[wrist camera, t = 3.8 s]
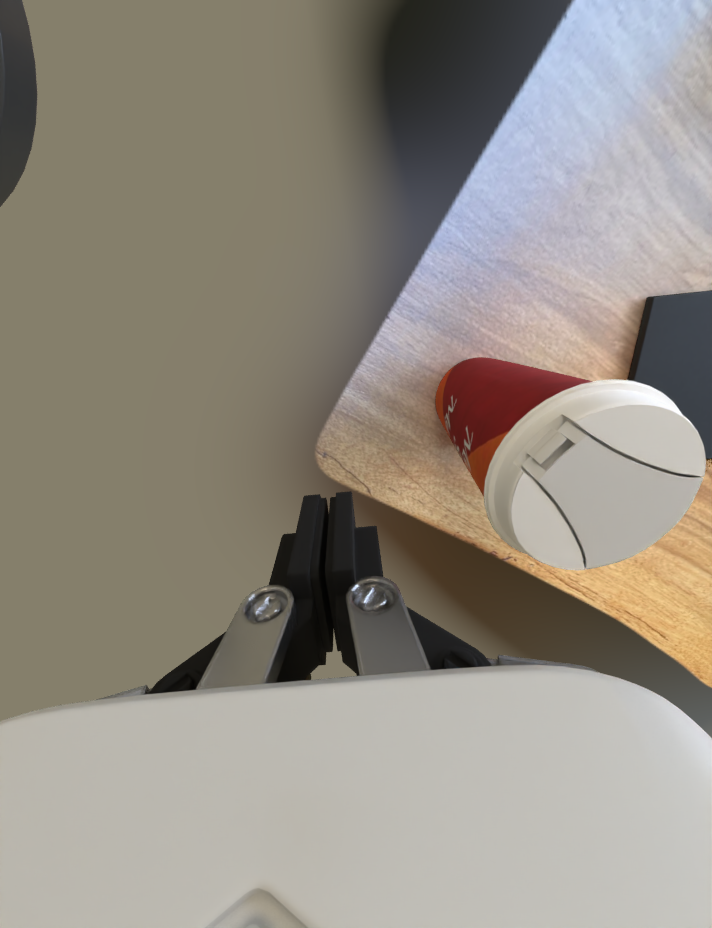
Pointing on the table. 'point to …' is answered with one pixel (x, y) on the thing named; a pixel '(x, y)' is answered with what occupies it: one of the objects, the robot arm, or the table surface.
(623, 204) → the table surface
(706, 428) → the mat
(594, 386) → the paper cup
